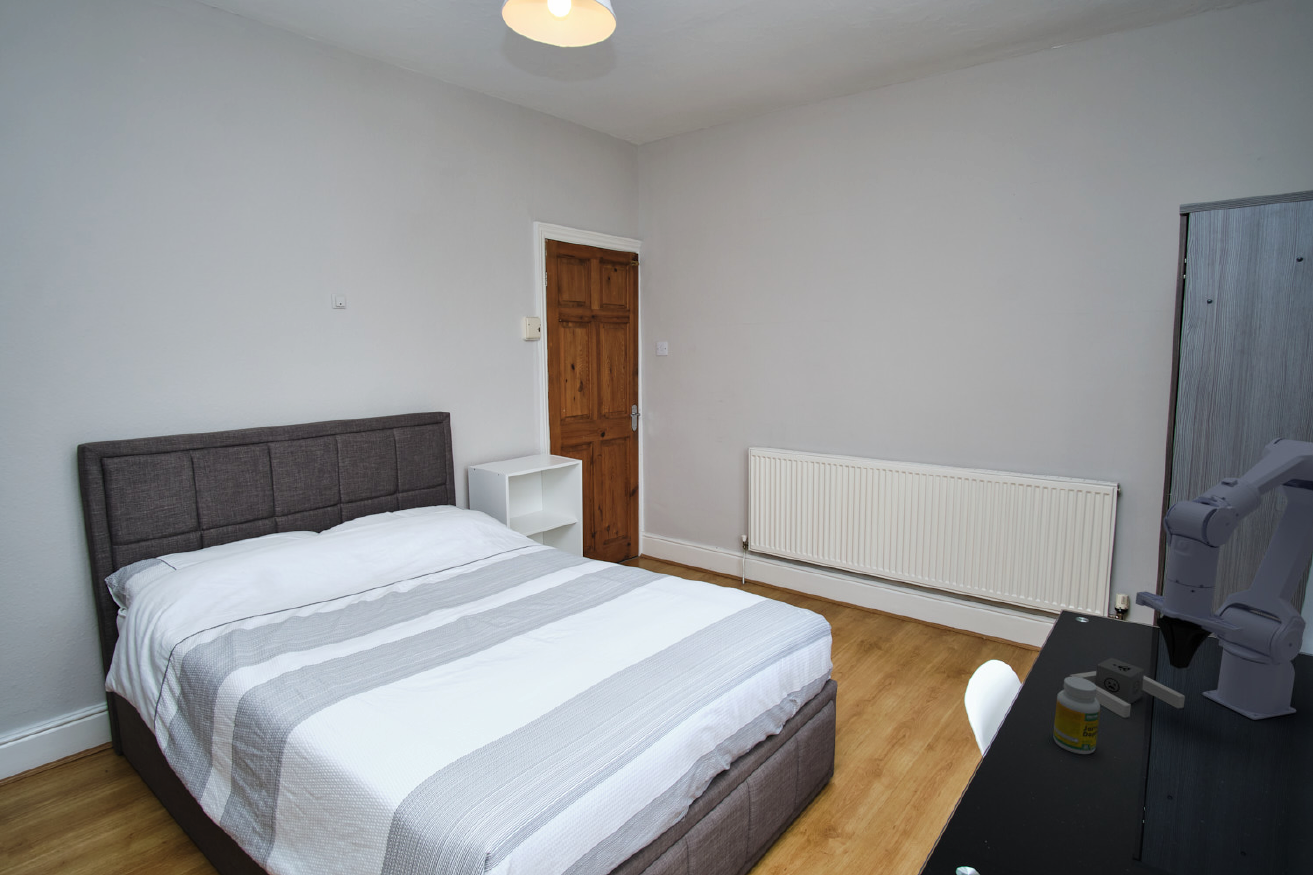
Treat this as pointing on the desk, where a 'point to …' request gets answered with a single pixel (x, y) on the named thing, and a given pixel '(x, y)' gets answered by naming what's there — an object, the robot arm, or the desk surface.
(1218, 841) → the desk surface
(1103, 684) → the dice cube
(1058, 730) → the supplement bottle
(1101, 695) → the grey angular bar shape
